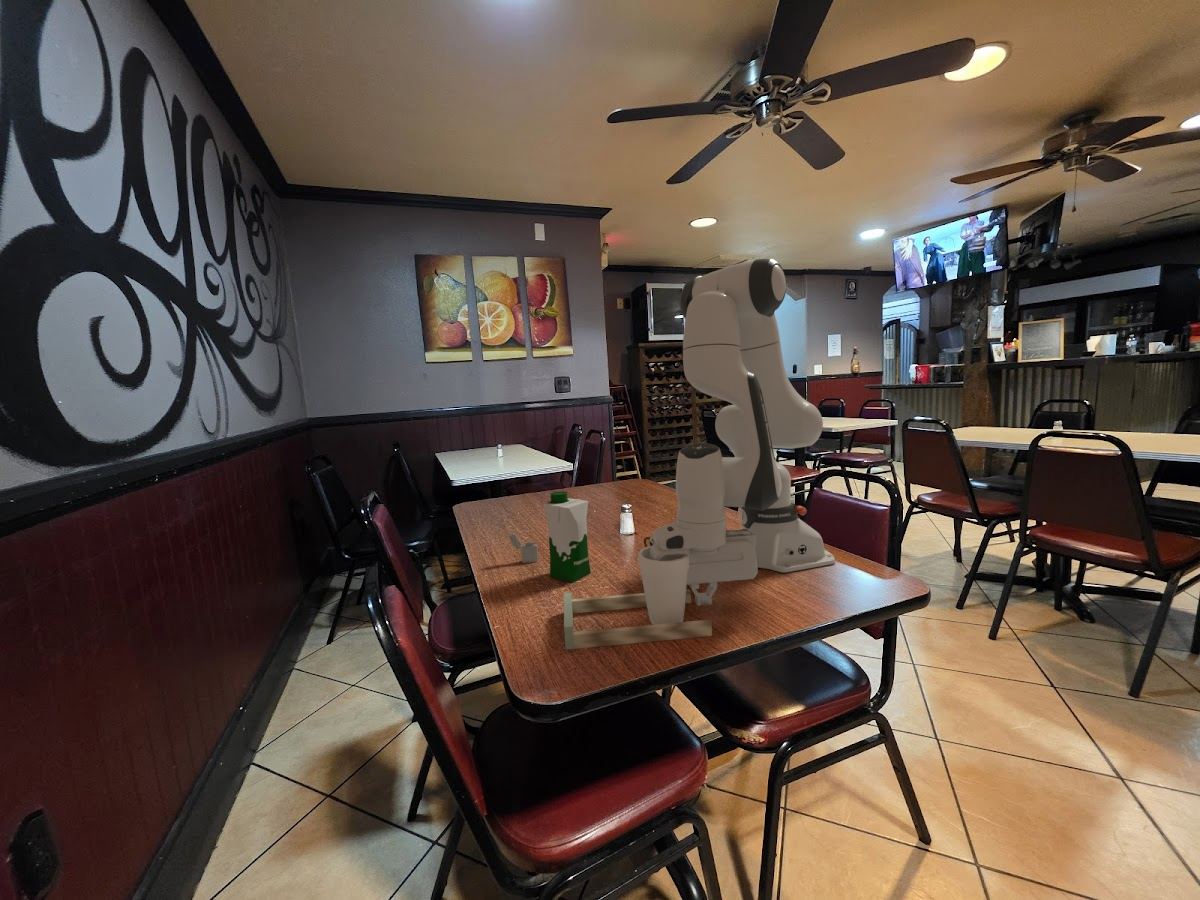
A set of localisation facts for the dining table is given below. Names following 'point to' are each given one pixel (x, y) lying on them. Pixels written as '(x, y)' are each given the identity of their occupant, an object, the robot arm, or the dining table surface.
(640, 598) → the guide channel
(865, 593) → the dining table surface
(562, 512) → the milk carton
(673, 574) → the foam cup
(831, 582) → the dining table surface
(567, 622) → the stop block
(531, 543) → the lighter
